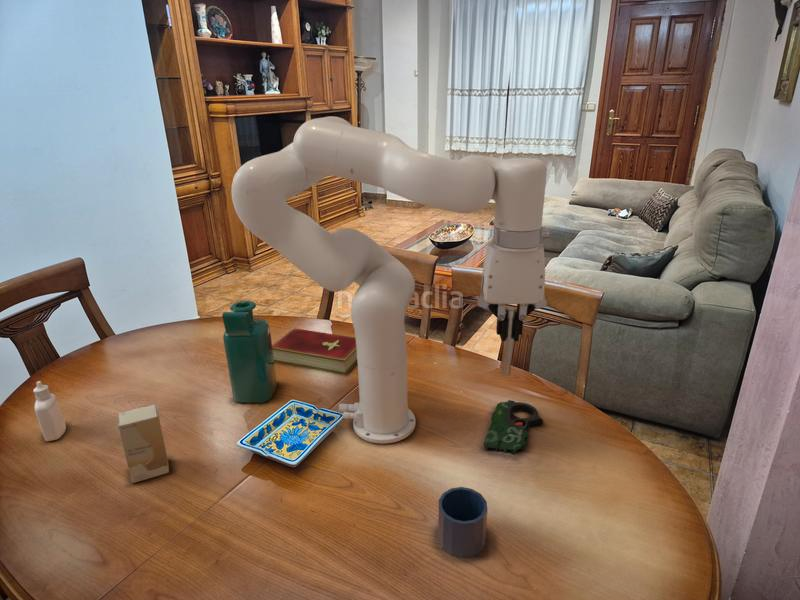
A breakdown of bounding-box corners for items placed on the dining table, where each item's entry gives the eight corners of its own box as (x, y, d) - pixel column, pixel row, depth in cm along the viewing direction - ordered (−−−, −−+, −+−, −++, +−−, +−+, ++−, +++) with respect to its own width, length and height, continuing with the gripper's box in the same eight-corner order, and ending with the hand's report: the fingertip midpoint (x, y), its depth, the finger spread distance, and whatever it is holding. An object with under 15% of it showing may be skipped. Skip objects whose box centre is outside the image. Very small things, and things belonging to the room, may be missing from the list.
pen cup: (438, 559, 74) (439, 523, 71) (437, 520, 81) (438, 486, 78) (487, 561, 74) (489, 524, 71) (482, 522, 80) (484, 487, 77)
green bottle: (243, 382, 119) (229, 295, 111) (279, 383, 119) (268, 295, 110) (228, 407, 110) (212, 314, 102) (267, 407, 110) (254, 314, 101)
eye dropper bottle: (75, 425, 105) (59, 375, 100) (54, 443, 100) (36, 391, 95) (57, 423, 106) (40, 373, 101) (35, 440, 101) (16, 388, 96)
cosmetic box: (131, 484, 89) (115, 426, 84) (131, 469, 93) (115, 413, 88) (171, 472, 92) (158, 415, 87) (169, 458, 95) (156, 402, 91)
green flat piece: (536, 455, 92) (481, 443, 95) (535, 462, 93) (481, 450, 96) (545, 406, 106) (497, 397, 109) (545, 412, 107) (497, 403, 110)
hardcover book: (295, 340, 139) (293, 326, 137) (366, 351, 132) (365, 337, 131) (270, 361, 128) (268, 346, 127) (346, 374, 122) (345, 359, 120)
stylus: (502, 376, 93) (507, 311, 87) (500, 371, 94) (505, 307, 89) (510, 376, 92) (516, 311, 87) (509, 372, 94) (514, 307, 89)
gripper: (559, 230, 86) (548, 328, 94) (466, 231, 87) (462, 328, 94) (571, 243, 80) (558, 348, 87) (470, 243, 80) (466, 347, 87)
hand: (508, 337), depth 90 cm, fingers closed on stylus, 1 cm apart
